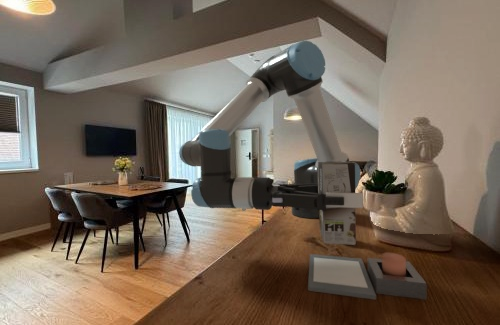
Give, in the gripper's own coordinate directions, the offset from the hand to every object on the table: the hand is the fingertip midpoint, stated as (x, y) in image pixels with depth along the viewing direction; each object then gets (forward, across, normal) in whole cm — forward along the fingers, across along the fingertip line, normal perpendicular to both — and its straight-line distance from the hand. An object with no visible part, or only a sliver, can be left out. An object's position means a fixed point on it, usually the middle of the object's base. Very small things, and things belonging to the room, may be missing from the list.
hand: (358, 195), depth 47 cm
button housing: (+6, +1, -18) cm, 19 cm away
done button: (+6, +1, -16) cm, 17 cm away
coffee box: (-4, 0, -9) cm, 10 cm away
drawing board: (-4, 0, -18) cm, 18 cm away
